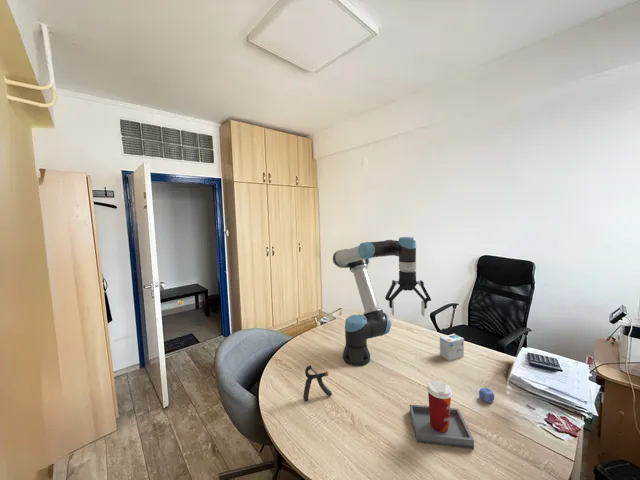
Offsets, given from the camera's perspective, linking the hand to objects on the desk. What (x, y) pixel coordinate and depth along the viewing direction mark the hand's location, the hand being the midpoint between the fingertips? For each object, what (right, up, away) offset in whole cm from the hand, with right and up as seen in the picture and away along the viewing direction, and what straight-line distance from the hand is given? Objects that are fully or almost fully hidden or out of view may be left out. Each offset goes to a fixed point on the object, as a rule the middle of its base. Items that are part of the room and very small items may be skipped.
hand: (407, 314), depth 118 cm
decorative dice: (+29, -32, -12) cm, 45 cm away
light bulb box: (+32, -29, +21) cm, 48 cm away
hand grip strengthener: (-42, -34, -8) cm, 55 cm away
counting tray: (+2, -34, -26) cm, 43 cm away
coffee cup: (+2, -33, -26) cm, 42 cm away
